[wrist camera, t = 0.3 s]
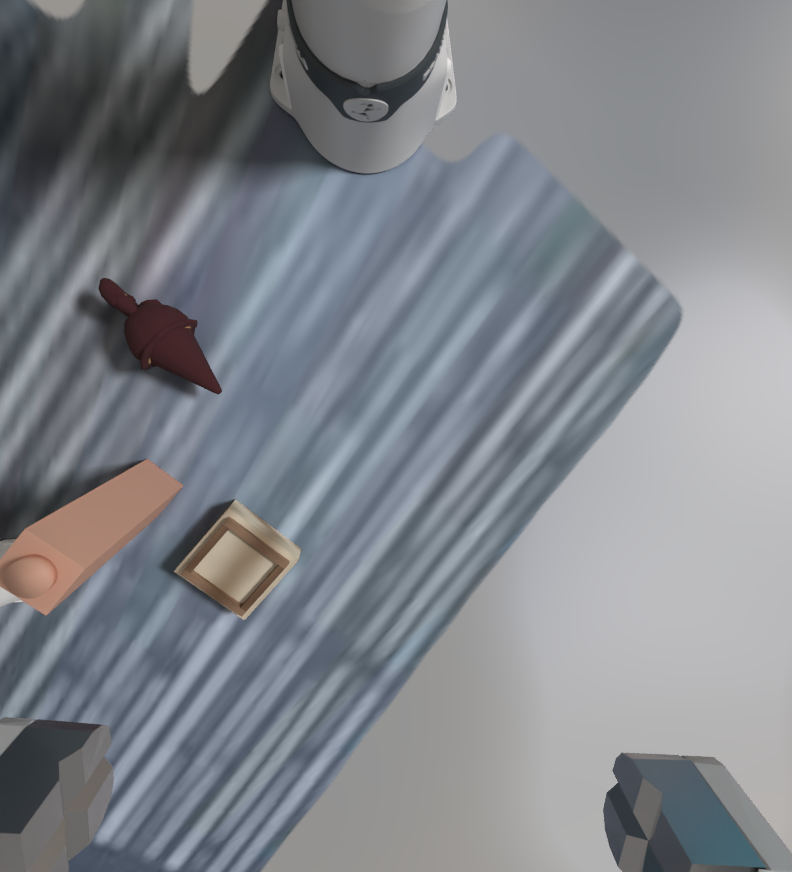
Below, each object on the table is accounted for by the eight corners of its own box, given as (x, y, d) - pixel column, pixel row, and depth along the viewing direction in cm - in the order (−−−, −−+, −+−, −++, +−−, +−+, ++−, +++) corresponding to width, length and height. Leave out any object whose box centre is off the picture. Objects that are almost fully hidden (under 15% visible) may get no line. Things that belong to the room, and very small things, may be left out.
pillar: (121, 490, 53) (-26, 584, 33) (147, 458, 53) (15, 534, 32) (157, 516, 54) (37, 623, 34) (183, 485, 54) (77, 575, 33)
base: (183, 559, 56) (171, 575, 52) (235, 499, 55) (226, 510, 51) (250, 606, 58) (242, 624, 54) (301, 548, 57) (297, 563, 53)
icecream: (242, 362, 45) (125, 248, 44) (185, 415, 44) (63, 300, 43) (250, 374, 52) (149, 276, 51) (201, 420, 51) (95, 321, 49)
